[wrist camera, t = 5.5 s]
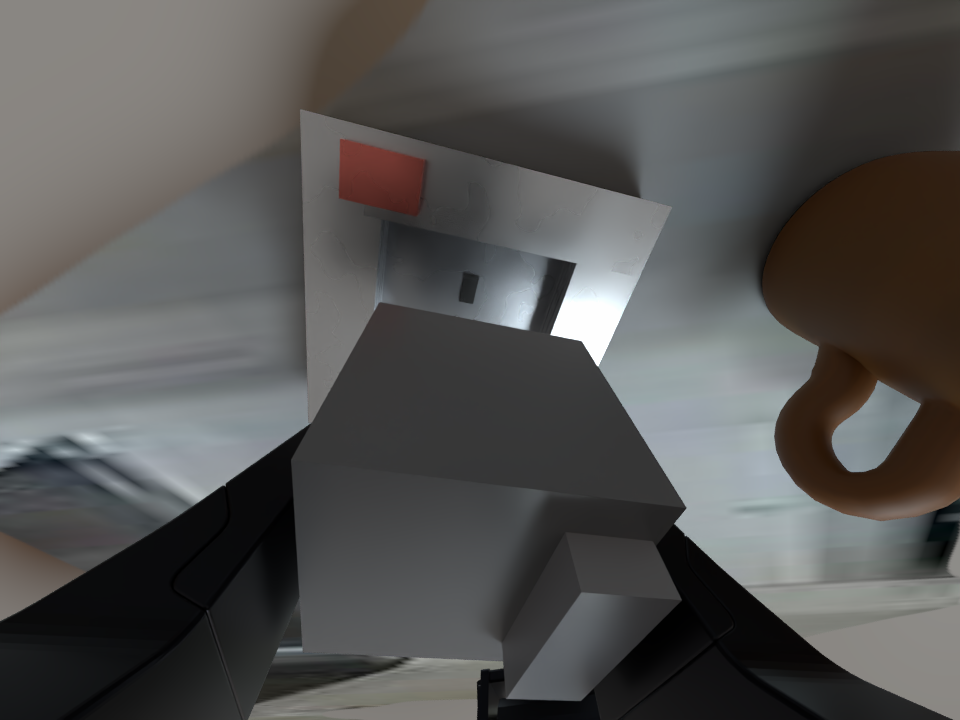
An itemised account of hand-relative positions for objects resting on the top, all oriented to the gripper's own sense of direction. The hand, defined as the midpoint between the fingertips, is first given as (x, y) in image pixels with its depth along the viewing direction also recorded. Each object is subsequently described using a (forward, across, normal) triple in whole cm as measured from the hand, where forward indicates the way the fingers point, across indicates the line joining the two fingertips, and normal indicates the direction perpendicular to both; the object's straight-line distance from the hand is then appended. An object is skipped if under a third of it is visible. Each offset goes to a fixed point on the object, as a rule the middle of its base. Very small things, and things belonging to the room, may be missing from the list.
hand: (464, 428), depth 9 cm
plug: (+1, 0, 0) cm, 1 cm away
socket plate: (+8, 0, 0) cm, 8 cm away
